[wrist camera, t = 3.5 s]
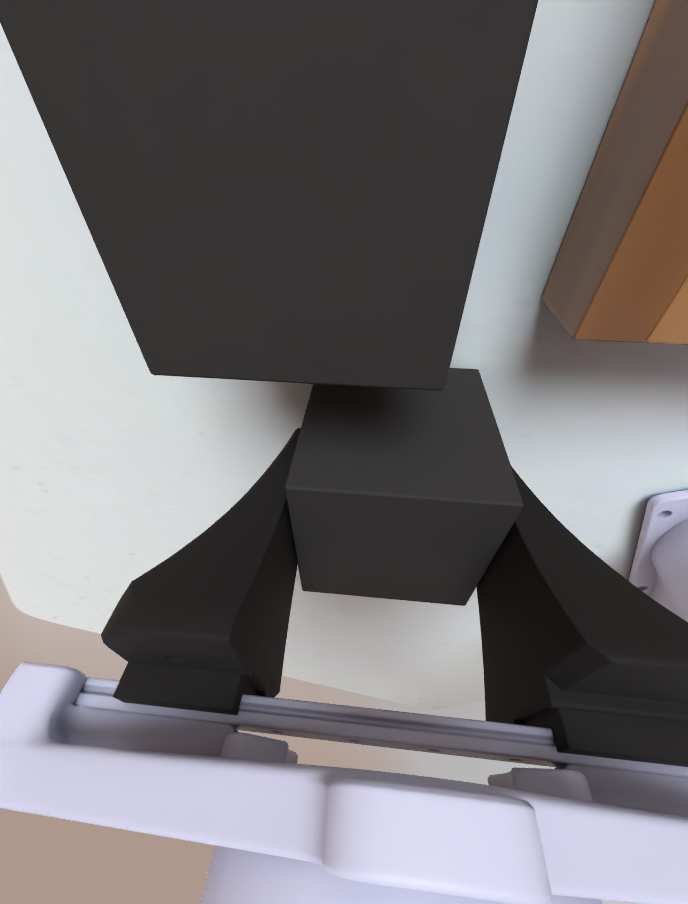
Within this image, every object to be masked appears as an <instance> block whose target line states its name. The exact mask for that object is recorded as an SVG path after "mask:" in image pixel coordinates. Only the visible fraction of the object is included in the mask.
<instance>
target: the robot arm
mask: <svg viewBox="0 0 688 904" xmlns="http://www.w3.org/2000/svg"><path fill="white" fill-rule="evenodd" d="M300 430H301V428H298V429H296V430H295V432H294V433H293V435H292V436H291V438H290V439H289V441H288V442H287V444H286V445H285V447H284V448H283V449H282V451H281V452H280V454H279V455H278V456H277V458H276V459H275V460H274V461H273V463H272V464H271V465H270V467H269V468H268V469H267V470H266V472H265V473H264V474H263V475H262V476H261V477H260V479H259V480H258V481H257V482H256V483H255V484H254V485H253V486H252V488H251V489H250V490H249V491H248V492H247V493H246V494H245V495H244V496H243V497H242V498H241V499H240V500H239V501H238V502H237V503H236V504H235V505H234V506H233V507H232V508H231V509H230V510H229V511H228V512H227V513H226V514H224V515H223V516H222V517H221V518H220V519H219V520H217V521H216V522H215V523H214V524H213V525H212V526H211V527H209V528H208V529H207V530H206V531H204V532H203V533H202V534H201V535H199V536H198V537H197V538H195V539H194V540H193V541H191V542H190V543H189V544H187V545H186V546H185V547H183V548H182V549H181V550H179V551H178V552H177V553H175V554H174V555H172V556H171V557H169V558H168V559H166V560H165V561H163V562H162V563H160V564H159V565H157V566H156V567H154V568H152V569H151V570H149V571H148V572H146V573H145V574H143V575H142V576H140V577H138V578H137V579H135V580H133V581H132V582H131V584H130V585H129V587H128V588H127V590H126V591H125V593H124V594H123V595H122V597H121V599H120V601H119V602H118V604H117V606H116V608H115V610H114V611H113V613H112V615H111V617H110V619H109V621H108V623H107V624H106V626H105V628H104V630H103V632H102V634H101V636H102V640H103V642H104V644H105V645H107V646H108V647H109V648H110V649H111V650H113V651H114V652H116V653H117V654H119V655H120V656H121V657H122V658H124V659H125V660H126V661H128V664H127V666H126V668H125V671H124V673H123V675H122V677H121V679H120V681H119V680H110V679H101V678H92V677H86V675H85V674H84V673H82V672H80V671H79V670H76V669H74V668H70V667H65V666H60V665H51V664H41V663H32V662H23V663H20V664H19V665H18V667H17V668H16V670H15V671H14V673H13V675H12V676H11V678H10V679H9V680H8V682H7V683H6V685H5V686H4V688H3V689H2V691H1V692H0V808H3V809H9V810H15V811H21V812H27V813H33V814H39V815H45V816H51V817H57V818H62V819H68V820H73V821H79V822H85V823H90V824H96V825H102V826H108V827H113V828H119V829H125V830H130V831H136V832H142V833H148V834H153V835H159V836H165V837H171V838H176V839H182V840H188V841H194V842H199V843H205V844H211V845H214V849H213V853H212V857H211V861H210V865H209V870H208V874H207V878H206V883H205V887H204V891H203V895H202V900H201V904H602V902H601V900H609V901H620V902H630V903H640V904H688V490H683V491H676V492H669V493H663V494H659V495H656V496H654V497H652V498H651V499H650V500H649V501H648V503H647V507H646V512H645V516H644V520H643V524H642V528H641V532H640V536H639V540H638V544H637V549H636V553H635V557H634V561H633V565H632V569H631V573H630V577H629V581H628V580H626V579H625V578H624V577H623V576H621V575H620V574H619V573H617V572H616V571H615V570H613V569H612V568H611V567H610V566H609V565H607V564H606V563H605V562H604V561H603V560H601V559H600V558H599V557H598V556H596V555H595V554H594V553H593V552H592V551H591V550H589V549H588V548H587V547H586V546H585V545H584V544H583V543H581V542H580V541H579V540H578V539H577V538H576V537H575V536H574V535H573V534H572V533H571V532H570V531H569V530H568V529H567V528H565V527H564V526H563V525H562V524H561V523H560V522H559V521H558V520H557V519H556V518H555V517H554V516H553V514H552V513H551V512H550V511H549V510H548V509H547V508H546V507H545V506H544V505H543V504H542V503H541V502H540V500H539V499H538V498H537V497H536V496H535V495H534V494H533V492H532V491H531V490H530V489H529V488H528V486H527V485H526V484H525V483H524V481H523V480H522V479H521V478H520V477H519V475H518V474H517V473H516V472H515V470H514V469H513V468H512V466H511V468H512V471H513V474H514V477H515V480H516V483H517V486H518V489H519V492H520V495H521V498H522V501H523V504H524V505H523V508H522V510H521V511H520V513H519V515H518V517H517V518H516V520H515V522H514V523H513V525H512V527H511V528H510V530H509V532H508V534H507V535H506V537H505V539H504V540H503V542H502V544H501V545H500V547H499V549H498V551H497V552H496V554H495V556H494V557H493V559H492V561H491V562H490V564H489V566H488V568H487V569H486V571H485V573H484V574H483V576H482V578H481V579H480V581H479V583H478V585H477V595H478V604H479V615H480V626H481V637H482V651H483V665H484V685H485V708H486V709H485V710H486V721H479V720H470V719H461V718H452V717H443V716H434V715H425V714H416V713H407V712H398V711H389V710H380V709H371V708H362V707H353V706H344V705H335V704H326V703H317V702H308V701H299V700H290V699H281V698H274V697H275V696H276V695H277V694H278V693H279V691H280V684H281V676H282V668H283V660H284V652H285V645H286V638H287V631H288V623H289V616H290V610H291V603H292V596H293V590H294V584H295V577H296V571H297V565H298V561H297V555H296V549H295V543H294V538H293V532H292V526H291V520H290V514H289V508H288V502H287V496H286V490H285V485H286V482H287V478H288V474H289V471H290V467H291V463H292V460H293V456H294V452H295V449H296V445H297V441H298V438H299V434H300ZM237 730H244V731H252V732H260V733H269V734H278V735H286V736H294V737H303V738H311V739H320V740H328V741H337V742H346V743H354V744H362V745H371V746H379V747H389V748H397V749H405V750H414V751H423V752H431V753H440V754H448V755H456V756H465V757H474V758H482V759H490V760H499V761H507V762H516V763H525V764H534V765H542V766H550V767H556V768H555V769H539V768H538V769H537V768H512V770H511V772H507V773H504V774H497V775H490V776H489V777H488V784H489V785H482V784H476V783H469V782H462V781H454V780H448V779H440V778H432V777H424V776H416V775H407V774H399V773H390V772H381V771H371V770H361V769H351V768H340V767H328V766H316V765H305V764H297V759H298V755H297V754H296V752H293V751H291V750H289V749H288V744H287V742H285V741H281V740H276V739H271V738H266V737H261V736H257V735H252V734H247V733H239V732H238V731H237Z"/></svg>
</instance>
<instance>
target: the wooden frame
mask: <svg viewBox="0 0 688 904" xmlns="http://www.w3.org/2000/svg"><path fill="white" fill-rule="evenodd" d="M541 299H542V300H543V301H544V303H545V304H546V305H547V306H548V308H549V309H550V310H551V311H552V313H553V314H554V315H555V317H556V318H557V319H558V320H559V322H560V323H561V324H562V325H563V327H564V328H565V329H566V331H567V332H568V333H569V334H570V336H571V337H572V338H573V339H575V340H597V341H618V342H640V343H643V342H646V343H661V344H683V345H688V0H656V2H655V4H654V7H653V10H652V12H651V15H650V17H649V20H648V22H647V25H646V28H645V30H644V33H643V35H642V38H641V41H640V43H639V46H638V48H637V51H636V54H635V56H634V59H633V61H632V64H631V67H630V69H629V72H628V74H627V77H626V79H625V82H624V85H623V87H622V90H621V92H620V95H619V98H618V100H617V103H616V105H615V108H614V111H613V113H612V116H611V118H610V121H609V123H608V126H607V129H606V131H605V134H604V136H603V139H602V142H601V144H600V147H599V149H598V152H597V155H596V157H595V160H594V162H593V165H592V168H591V170H590V173H589V175H588V178H587V180H586V183H585V186H584V188H583V191H582V193H581V196H580V199H579V201H578V204H577V206H576V209H575V212H574V214H573V217H572V219H571V222H570V224H569V227H568V230H567V232H566V235H565V237H564V240H563V243H562V245H561V248H560V250H559V253H558V256H557V258H556V261H555V263H554V266H553V269H552V271H551V274H550V276H549V279H548V281H547V284H546V287H545V289H544V292H543V294H542V297H541Z"/></svg>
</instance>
